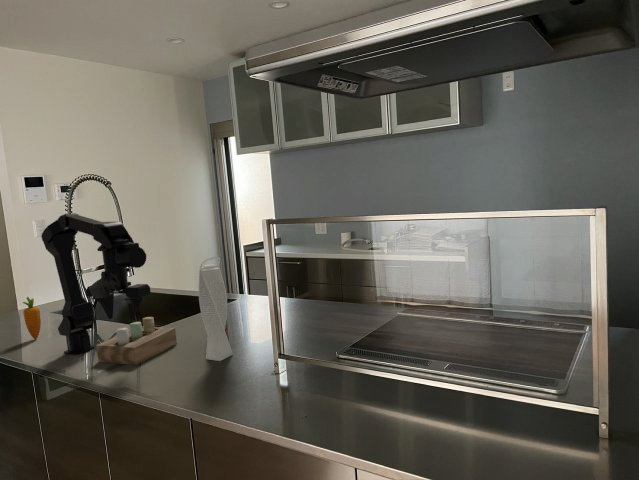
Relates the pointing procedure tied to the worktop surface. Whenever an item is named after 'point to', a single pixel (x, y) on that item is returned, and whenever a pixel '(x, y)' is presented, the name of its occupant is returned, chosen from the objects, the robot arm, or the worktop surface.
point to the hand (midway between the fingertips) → (121, 319)
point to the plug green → (136, 330)
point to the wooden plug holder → (137, 347)
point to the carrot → (32, 318)
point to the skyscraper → (214, 310)
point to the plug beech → (148, 325)
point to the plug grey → (123, 336)
